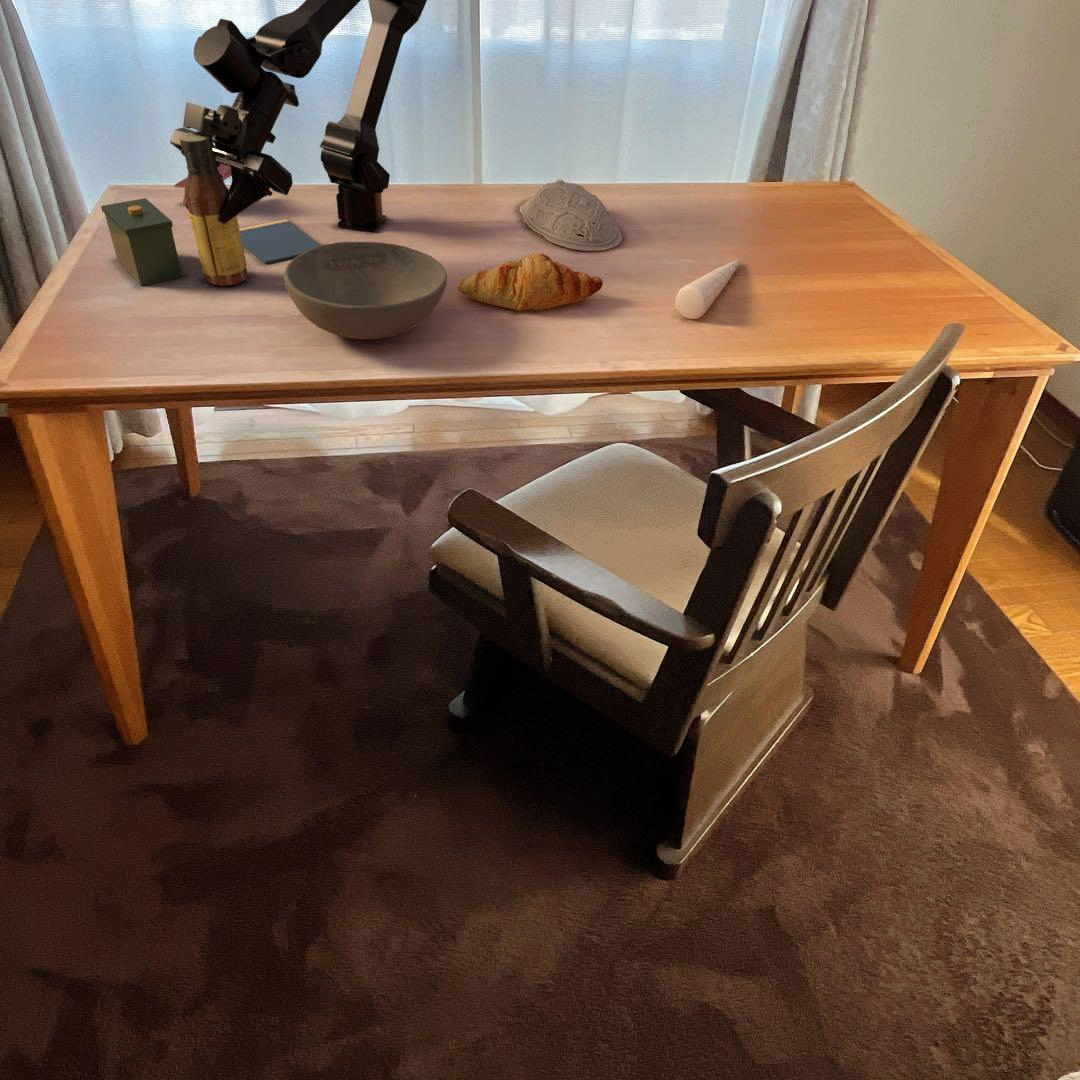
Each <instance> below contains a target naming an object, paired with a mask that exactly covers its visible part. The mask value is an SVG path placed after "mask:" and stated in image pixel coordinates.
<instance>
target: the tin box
mask: <svg viewBox="0 0 1080 1080" xmlns="http://www.w3.org/2000/svg"><path fill="white" fill-rule="evenodd" d="M100 208H101V211H102V213H103V214H104V216H105V219H106V222H107V227H108V231H109V234H110V238H111V241H112V246H113V249H114V252H115V256H116V260H117V262H118V263H119V264H120V265H121V266H122V267H123V268H124V270H125V271H127V272H128V274H129V275H130V276H131V277H132V278H133V279H134V280H135V281H136V282H137V283H138V284H139V285H140V286H146V285H151V284H154V283H160V282H164V281H169V280H172V279H177V278H182V277H183V274H182V269H181V265H180V260H179V255H178V251H177V246H176V242H175V238H174V233H173V229H172V228H173V227H174V224H173V221H172V220H171V219H170V218H169V217H168V216H167V215H166V214H164V212H162V211H161V210H160V209H159V208H158V207H156V206H155V204H153V203H152V202H151V201H150V200H148V199H147V198H138V199H133V200H127V201H121V202H116V203H109V204H104V205H101V206H100Z"/></svg>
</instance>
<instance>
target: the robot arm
mask: <svg viewBox="0 0 1080 1080" xmlns="http://www.w3.org/2000/svg"><path fill="white" fill-rule="evenodd" d="M361 1H362V0H304V2H303V3H302V4H301V5H299V7H297V8H296V9H294V10H293V11H291V12H288V13H285V14H282V15H278V16H275V17H274V18H273V19H270V21H268V22H266V23H265V24H263V25H262V26H260V27H259V29H258V30H257V32H255V34H254V35H253V36H250V37H248V38H247V37H245V35H244V34H243V33H242V32H241V31H240V29H239V27H238V26H237V24H235V23H234V22H233V20H229V19H225V18H220V19H219V21H218V22H217V25H214V26H212V27H210V28H208V29H207V30H206V31H204V32H203V33H202V34H201V36H198V37H197V39H196V41H195V44H194V46H193V56H194V60H195V62H196V63H197V64H198V65H199V66H200V67H201V68H202V69H204V71H206V73H208V74H209V75H210V76H211V77H212V78H213V79H214V80H215V81H216V82H217V83H218V84H220V85H221V87H223V89H225V90H226V91H227V92H229V93H231V94H237V95H236V97H235V99H234V101H233V103H232V105H229V104H228V105H227V104H220V105H219V106H218V107H217V109H216V110H214V109H212V108H208V107H205V106H202V105H200V104H199V105H198V104H195V103H192V102H188V101H186V103H185V110H184V116H183V122H182V123H183V124H182V127H179V128H176V129H174V132H173V134H172V135H171V138H170V139H169V144H171V145H172V146H173V147H174V148H176V149H177V150H178V151H179V152H180V154H181V155H182V156H183V157H185V154H184V150H183V149H182V147H181V144H180V136H181V135H183V134H186V133H191V132H200V133H203V134H207V135H210V136H211V137H212V141H213V152H214V157H215V162H216V165H217V168H218V167H219V166H220V164H224V165H227V166H230V167H231V175H232V176H231V183H230V185H229V188H228V190H229V191H228V193H227V195H226V198H225V200H224V203H223V205H222V208H221V210H220V214H219V217H218V221H220V222H221V223H223V224H225V223H227V222H228V221H230V220H231V219H232V218H234V217H235V216H236V215H237V216H238V215H239V214H241V213H242V212H243V211H245V210H247V208H249V207H251V206H253V205H254V204H255V203H258V201H261V200H263V198H265V197H268V196H269V197H271V196H272V195H273V193H274V192H275V193H278V194H281V195H284V196H288V195H289V192H290V190H291V188H292V186H293V174H292V173H291V172H290V171H289V170H288V169H287V168H285V167H284V166H283V165H282V164H281V163H280V162H279V161H278V160H277V159H276V158H274V157H273V156H272V155H270V154H266V153H264V152H263V149H264V147H265V145H266V143H270V144H274V142H275V140H276V138H277V136H276V135H274V134H273V132H272V131H273V128H274V126H275V125H276V122H277V121H278V118H279V116H280V114H281V111H282V109H283V108H284V105H289V106H292V107H295V108H298V107H299V106H300V101H299V97H298V96H297V93H296V86H295V84H292V83H288V82H285V81H283V80H282V79H281V78H280V77H279V76H278V75H277V74H280V75H283V76H289V77H291V78H296V79H304V78H305V77H307V76H308V75H309V74H310V73H311V71H312V70H313V68H314V66H315V65H316V64H317V62H318V60H319V59H320V58H321V56H322V52H323V51H322V49H323V42H324V41H325V40H326V38H327V37H328V35H329V34H330V33H331V32H332V31H334V29H335V28H336V27H337V26H338V25H339V24H340V23H341V22H342V21H343V20H344V19H345V18H346V17H347V16H348V14H349V13H350V12H352V10H353V9H354V8H355V7H356V6H357V5H359V3H360V2H361ZM367 1H368V5H369V11H370V16H371V24H370V28H369V30H368V31H369V32H368V34H367V38H366V42H365V45H364V48H363V51H362V55H361V59H360V62H359V65H358V69H357V72H356V75H355V79H354V82H353V86H352V88H351V92H350V96H349V99H348V103H347V106H346V110H345V113H344V115H343V116H342V118H341V119H340V120H339V121H337V122H334V121H331V120H329V121H328V122H327V124H326V126H325V130H324V136H323V139H322V141H321V142H320V144H319V148H320V149H321V152H320V161H321V162H322V166H323V168H324V170H325V172H326V174H327V176H328V179H329V182H330V183H331V184H335V185H337V190H338V191H337V192H338V193H337V194H335V199H336V208H337V209H336V210H337V217H338V220H339V221H338V222H337V228H344V229H351V230H352V229H353V230H358V231H367V232H375V231H377V230H378V228H379V227H381V225H382V224H383V223H384V222H385V221H386V220H387V219H388V218H387V217H388V216H387V214H384V213H383V200H382V198H383V197H382V193H384V190H386V189H388V188H389V184H390V179H391V175H390V173H389V172H388V171H387V170H386V168H384V166H382V164H380V162H378V158H379V153H380V146H379V140H378V135H377V131H376V128H377V124H378V122H379V118H380V114H381V111H382V107H383V105H384V101H385V97H386V94H387V91H388V88H389V84H390V81H391V78H392V75H393V71H394V67H395V64H396V61H397V58H398V55H399V51H400V48H401V45H402V42H403V39H404V37H405V35H406V33H407V32H408V31H410V30H411V29H412V28H413V26H415V25H416V23H417V22H419V20H420V18H421V16H422V13H423V11H424V8H425V6H426V3H427V2H428V0H367ZM276 73H277V74H276ZM192 129H193V130H192ZM195 130H196V131H195ZM225 157H227V158H225ZM220 175H221V174H220ZM221 177H223V176H222V175H221ZM271 190H272V191H271ZM185 208H186V209H187V210H188V205H187V203H186V204H185Z"/></svg>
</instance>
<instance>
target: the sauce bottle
mask: <svg viewBox="0 0 1080 1080" xmlns="http://www.w3.org/2000/svg"><path fill="white" fill-rule="evenodd" d="M180 144H181V147H182V149H183V150H184V154H185V156H184V158H185V162H186V169H187V172H188V173H187V177H186V178H187V180H186V183H185V188H184V195H185V197H186V201H187V205H188V209H187V212H188V216H189V219H190V225H191V229H192V232H193V237H194V240H195V246H196V249H197V254H198V259H199V262H200V266H201V270H202V273H204V277H205V280H206V281H207V283H208V284H211V285H214V286H215V285H216V286H219V287H230V286H235V285H238V284H242V283H243V282H244V281H246V279H247V277H248V269H247V265H248V263H247V257H246V254H245V247H244V246H243V244H242V239H241V234H240V230H239V228H240V225H239V220H238V215H236V216H235V217H234V218H232V219H231V220H230V221H228V222H227V223H225V224H223V223H221V222H220V221H218V217H219V214H220V210H221V208H222V205H223V203H224V200H225V198H226V195H227V193H228V191H229V188H228V187H227V185H226V183H225V180H224V181H223V179H222V177H221V175H220V173H219V171H218V169H217V165H216V162H215V157H214V152H213V145H214V143H213V141H212V137H211V136H210V135H207V134H203V133H200V132H197V131H195V132H191V133H186V134H183V135H181V136H180Z"/></svg>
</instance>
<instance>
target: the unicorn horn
mask: <svg viewBox="0 0 1080 1080" xmlns="http://www.w3.org/2000/svg"><path fill="white" fill-rule="evenodd" d="M739 265H740V260H739V259H737V260H733V261H730V262H728V263H726V264H724V265H721V266H720V267H718V268H716V269H714V270H712V271H710V272H708V273H706V274H704V275H703V276H701V277H699V278H696V279H695V280H694V281H692V282H690V283H688V284H686V285H684V286H683V287H682V288H680V289H679V291H678V292H677V294H676V295H675V301H674V304H675V310H677V312H678V314H679V315H681V316H682V317H684V318H686V319H688V320H698V319H700V318H701V317H702V316H704V315H705V313H706V312H707V311H708V309H709V308H710V307H711V305H712V304H713V303H714V302H715V300H716V299H717V298H718V296H719V295H720V293H721V292H722V291H723V289H724V288H725V287H726V285H727V284H728V283H729V281H730V279H732V277H733V275H734V273H735V272H736V271H737V268H738V267H739Z"/></svg>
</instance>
